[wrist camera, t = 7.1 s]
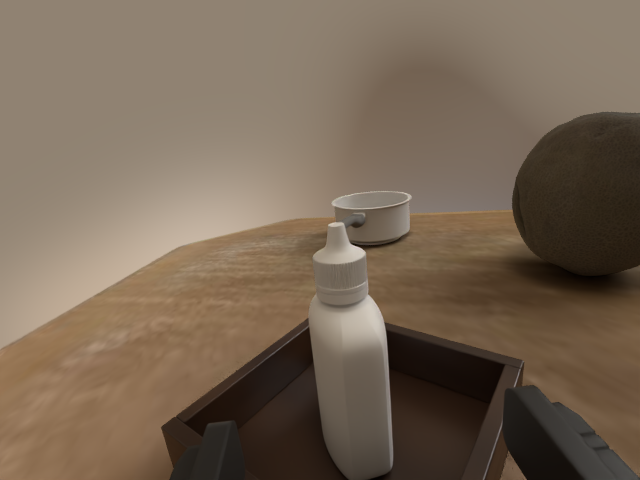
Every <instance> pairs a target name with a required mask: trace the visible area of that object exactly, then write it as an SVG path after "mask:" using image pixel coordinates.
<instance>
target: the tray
mask: <svg viewBox="0 0 640 480" xmlns="http://www.w3.org/2000/svg"><path fill="white" fill-rule="evenodd" d="M384 324H385V329H386V336H387V349H388V365H389V383H390V401H391V421H392V440H393V466H392V468H391V470H390V471H389V472H388V473H386V474H384V475H381V476H378V477H375V478H371V479H368V480H500V477H501V473H502V470H503V467H504V463H505V460H506V456H507V453H508V448H507V446H506V443H505V441H504V437H503V432H502V423H503V409H504V394H505V390H506V389H507V388H513V387H521V386H522V381H523V370H524V361H523V360H519V359H516V358H512V357H508V356H505V355H501V354H498V353H494V352H490V351H487V350H483V349H479V348H476V347H472V346H469V345H465V344H461V343H458V342H454V341H450V340H447V339H443V338H440V337H436V336H432V335H429V334H425V333H422V332H418V331H414V330H411V329H407V328H403V327H400V326H396V325H393V324H389V323H385V322H384ZM232 420H234V421H235V422H236V425H237V429H238V434H239V438H240V443H241V447H242V451H243V456H244V461H245V480H349V479H347V478H346V477H345V476H344V475H343V474H342V472H341V471H340V470H339V469H338V467H337V466H336V464H335V463H334V461H333V459H332V458H331V456H330V454H329V452H328V449H327V447H326V444H325V440H324V436H323V431H322V424H321V416H320V408H319V400H318V392H317V384H316V376H315V368H314V361H313V353H312V345H311V337H310V328H309V318H308V319H306V320H305V321H304V322H302V323H301V324H299V325H298V326H297V327H295V328H294V329H293V330H291V331H290V332H289V333H287V334H286V335H285V336H283V337H282V338H281V339H279V340H278V341H277V342H275V343H274V344H272V345H271V346H270V347H268V348H267V349H266V350H264V351H263V352H262V353H260V354H259V355H258V356H256V357H255V358H254V359H252V360H251V361H250V362H248V363H247V364H245V365H244V366H243V367H241V368H240V369H239V370H237V371H236V372H235V373H233V374H232V375H231V376H229V377H228V378H227V379H225V380H224V381H223V382H221V383H220V384H218V385H217V386H216V387H214V388H213V389H212V390H210V391H209V392H208V393H206V394H205V395H204V396H202V397H201V398H200V399H198V400H197V401H196V402H194V403H193V404H191V405H190V406H189V407H187V408H186V409H185V410H183V411H182V412H181V413H179V414H178V415H177V416H176V417H174V418H172V419H171V420H170V421H168V422H167V423H166V424H164V425H163V426H162V427H161V429H162V432H163V435H164V438H165V442H166V445H167V448H168V452H169V455H170V458H171V461H172V465H173V468H174V466H175V464H176V462H177V461H178V460H179V458H180V457H181V456H182V454H183V453H184V452H185V451H186V449H187V448H188V447H189V446H193V445H201V441H202V438H203V435H204V432H205V429H206V426H207V425H208V424H209V423H216V422H224V421H232Z"/></svg>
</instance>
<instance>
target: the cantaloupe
mask: <svg viewBox="0 0 640 480" xmlns="http://www.w3.org/2000/svg"><path fill="white" fill-rule="evenodd" d="M512 208H513V215H514V219H515V223H516V225H517V228H518V230H519V232H520V235H521V237H522V238H523V240H524V242H525V243H526V245H527V246H528V247H529V248H530V250H531V251H532V252H533V253H535V254H536V255H537V256H539V257H540V258H542V259H544V260H546V261H548V262H550V263H552V264H555V265H558V266H560V267H562V268H564V269H566V270H567V271H569V272H571V273H574V274H578V275H583V276H600V275H607V274H612V273H617V272H621V271H624V270H627V269H630V268H633V267H636V266H638V265H640V113H619V112H601V113H594V114H588V115H583V116H580V117H577V118H575V119H573V120H571V121H569V122H567V123H564V124H562V125H559V126H557V127H556V128H554V129H553V130H551V131H550V132H548V133H547V134H546V135H544V137H542V139H541V140H540V141H539V142H538V143H537V145H536V146H535V147H534V148H533V149H532V151H531V152H530V153H529V155H528V156H527V158H526V160H525V161H524V163H523V164H522V166H521V168H520V170H519V172H518V175H517V177H516V182H515V187H514V191H513V198H512Z"/></svg>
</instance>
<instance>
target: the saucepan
mask: <svg viewBox="0 0 640 480" xmlns="http://www.w3.org/2000/svg"><path fill="white" fill-rule="evenodd" d="M410 199H411V195H409V194H406V193H402V192H391V191H375V192H364V193H356V194H351V195H346V196H342V197H340V198H337V199H335V200H333V201H332V205H333V206H335V218H336V222H342V223H344V225H345V229H346V232H347V236H348V239H349V242H351V243H354V244H360V245H377V244H384V243H389V242H392V241H395V240H397V239H399V238H400V237H401V236H402V235H404V234H406V233H407V232H408V231H409V229H410V223H409V200H410Z"/></svg>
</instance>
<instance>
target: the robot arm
mask: <svg viewBox="0 0 640 480" xmlns="http://www.w3.org/2000/svg"><path fill="white" fill-rule="evenodd" d="M502 432H503V437H504V441H505V443H506V446H507V448H508V450H509V452H510V454H511V455H512V457H513V459H514V460H515V462H516V463H517V465H518V466H519V468H520V470H521V471H522V473H523V474H524V476H525V477H526V479H527V480H640V478H639V477H638V476H637V475H636V474H635V473H634V472H633V471H632V470H631V469H630V468H629V467H628V466H627V464H626V463H625V462H624V461H623V460H622V459H621V458H620V457H619V456H618V455H617V454H616V453H615V452H614V451H613V450H610V449H609V446H608V445H607V444H606V443H605V442H604V440H603V439H602V438H601V437H600V436H599V435H596V433H595V431H594V430H593V429H592V428H591V427H590V426H589V425H588V424H587V423H586V422H585V421H584V420H583V419H582V417H581V416H580V415H578V414H577V413H575V412H574V411H572V410H570V409H569V408H567V407H566V406H564V405H563V404H561V403H559V402H555V403H551V402H550V401H549V399H548V398H547V397H546V396H545V395H544V394H543V393H542V392H541V391H540V390H539V389H538V388H537V387H536V386H534V385H529V386H521V387H513V388H507V389H506V390H505V394H504V409H503V423H502ZM170 480H245V461H244V456H243V451H242V447H241V443H240V438H239V434H238V429H237V425H236V422H235V421H234V420H232V421H224V422H216V423H209V424H208V425H207V426H206V429H205V432H204V435H203V438H202V441H201V445H193V446H189V447H188V448H187V449H186V451H185V452H184V453H183V454H182V456H181V457H180V458H179V460H178V461H177V462H176V464H175V466H174V469H173V472H172V474H171V477H170Z"/></svg>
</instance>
